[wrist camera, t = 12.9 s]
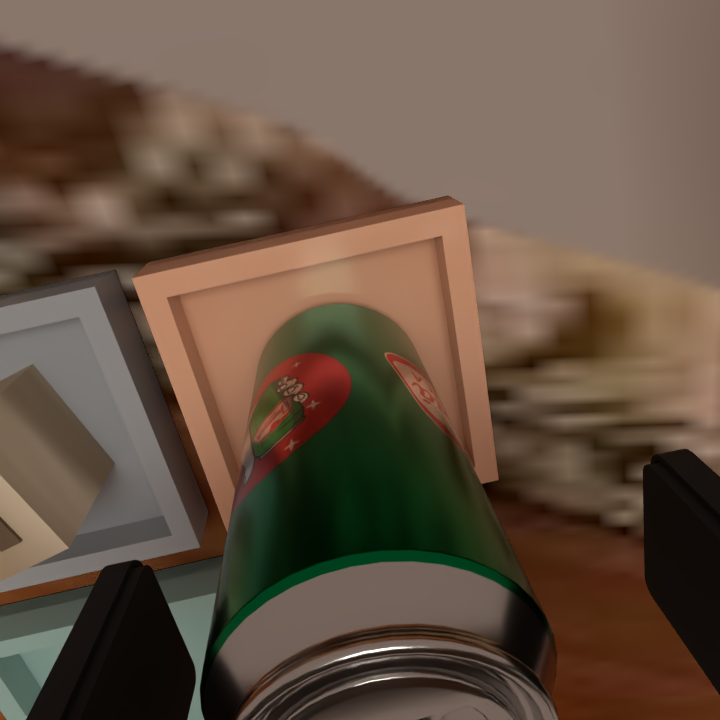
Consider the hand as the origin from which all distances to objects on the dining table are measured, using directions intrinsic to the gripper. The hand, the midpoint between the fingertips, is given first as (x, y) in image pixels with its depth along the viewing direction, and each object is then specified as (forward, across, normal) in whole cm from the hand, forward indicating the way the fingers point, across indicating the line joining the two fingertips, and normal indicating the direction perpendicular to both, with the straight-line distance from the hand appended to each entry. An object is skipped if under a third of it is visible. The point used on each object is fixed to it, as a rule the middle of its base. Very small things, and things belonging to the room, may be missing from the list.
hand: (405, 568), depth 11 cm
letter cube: (+8, +11, -1) cm, 14 cm away
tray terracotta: (+9, +1, -1) cm, 9 cm away
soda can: (+8, +1, -1) cm, 8 cm away
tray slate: (+8, +11, -1) cm, 14 cm away
